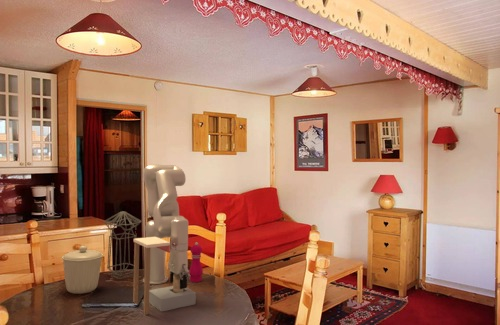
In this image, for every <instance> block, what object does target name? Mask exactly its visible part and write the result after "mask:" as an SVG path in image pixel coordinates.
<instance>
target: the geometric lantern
mask: <svg viewBox="0 0 500 325" xmlns="http://www.w3.org/2000/svg"><path fill="white" fill-rule="evenodd" d="M111 219H112V220H111ZM126 220H127V221H126ZM127 222H129V223H127ZM142 222H143V221H142V220H141V219H139V218H137V217H136V216H133V215H132V214H130V213H128V212H127V211H123V210H122V211H120V212H118V213H116V214H114V215H112V216H111V217H109V218H107V219H105V220H104V221H103V223H104V224H105V225H106V227H107V228H108V230H110V231H111V232H110V235H108V249H107V265H106V268H107V270H108V271H109V272H110V273H112V275H111V276H112V277H114V278H116V279H119V280H122V279H126V278H130V277H131V278H132V277H134V268H131V269H128V267H129V265H131V266H133V267H134V263H133V264H132V263H131V259H130V255H131V253H130V252H131V251H130V238H133V240H134V239H136V238H138V236H137V234H135V232H134V231H133V229H134V228H135V229H137V227H138V226H139V225H140V224H141V223H142ZM112 226H113V227H112ZM123 226H125V227H123ZM127 226H130V228H127ZM116 227H120V228H121V229H122V230H123V231H124V232H122V233H117V234H116V233H115V231H114V230H115V228H116ZM127 231H128V232H127ZM118 235H121V236H120V238H119V237H117V236H118ZM130 235H131V236H130ZM123 236H124V237H123ZM113 239H115V240H116V242H115V263H114V264H115V265H111V254H112V241H113ZM118 240H119V241H118ZM121 240H124V253H123V254H124V256H123V263H122V246H121V244H122V243H121V242H122V241H121ZM126 241H127V242H126ZM118 242H119V264H117V262H118V261H117V259H118V258H117V256H118ZM127 243H128V244H127ZM127 245H128V246H127ZM126 246H127V247H128V250H127V251H128V262H126ZM110 265H111V266H110ZM122 265H123V266H124V265H127V266H126V268H123V269H122ZM117 266H120V267H119V268H120V269H118V270H117ZM111 268H115V269H114V270H113V269H111ZM124 275H128V276H125V277H123V276H124ZM129 275H130V276H129ZM117 276H118V277H117Z"/></svg>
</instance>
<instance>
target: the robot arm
mask: <svg viewBox="0 0 500 325" xmlns="http://www.w3.org/2000/svg"><path fill="white" fill-rule="evenodd" d="M142 178H143V181H144V184H145V187H146V191H147V192H146V193H147V213H148V215H149V216H150V217H152V218H153V219H152V220H149V221H147V222H146V224H145V227H144V228H145V229H144V230H145V236H146V237H145V238H147V237H158V238H160V239H166V238H167V239H168V238H170V253H169V258H168V270H169V277H168V276H166V253H167V252H166V251H163V250H161V249H159V248H157V247H150V285H161V284H165V283H167V282H168V281H169V284H173V274H177V275H179V274H180V278H181V279H180V289H184V288H188V279H189V278H188V277H189V275H190V274H189V268H188V267H189V266H188V265H189V261H188V260H189V259H188V250H189V220H188V219H187V218H186V217H184V216H183V215H180V207H179V206H180V205H179V202H178V200H177V199H178V191H177V187H182V186H184V185H185V184H186V174H185V172H184V171H183V169H181V168H180V167H179V166H177V165H175V164H149V165H147V166H145V167H144V168H143V176H142ZM182 274H184V275H183V276H182ZM142 283H144V278H142Z"/></svg>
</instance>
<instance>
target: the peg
mask: <svg viewBox="0 0 500 325" xmlns="http://www.w3.org/2000/svg"><path fill="white" fill-rule="evenodd" d="M183 275H184V274H182V276H183ZM180 279H181V278H180V274H179V275H177V274H173V283H172V286H173V292H174V293H180V292H183V289H180Z"/></svg>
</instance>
